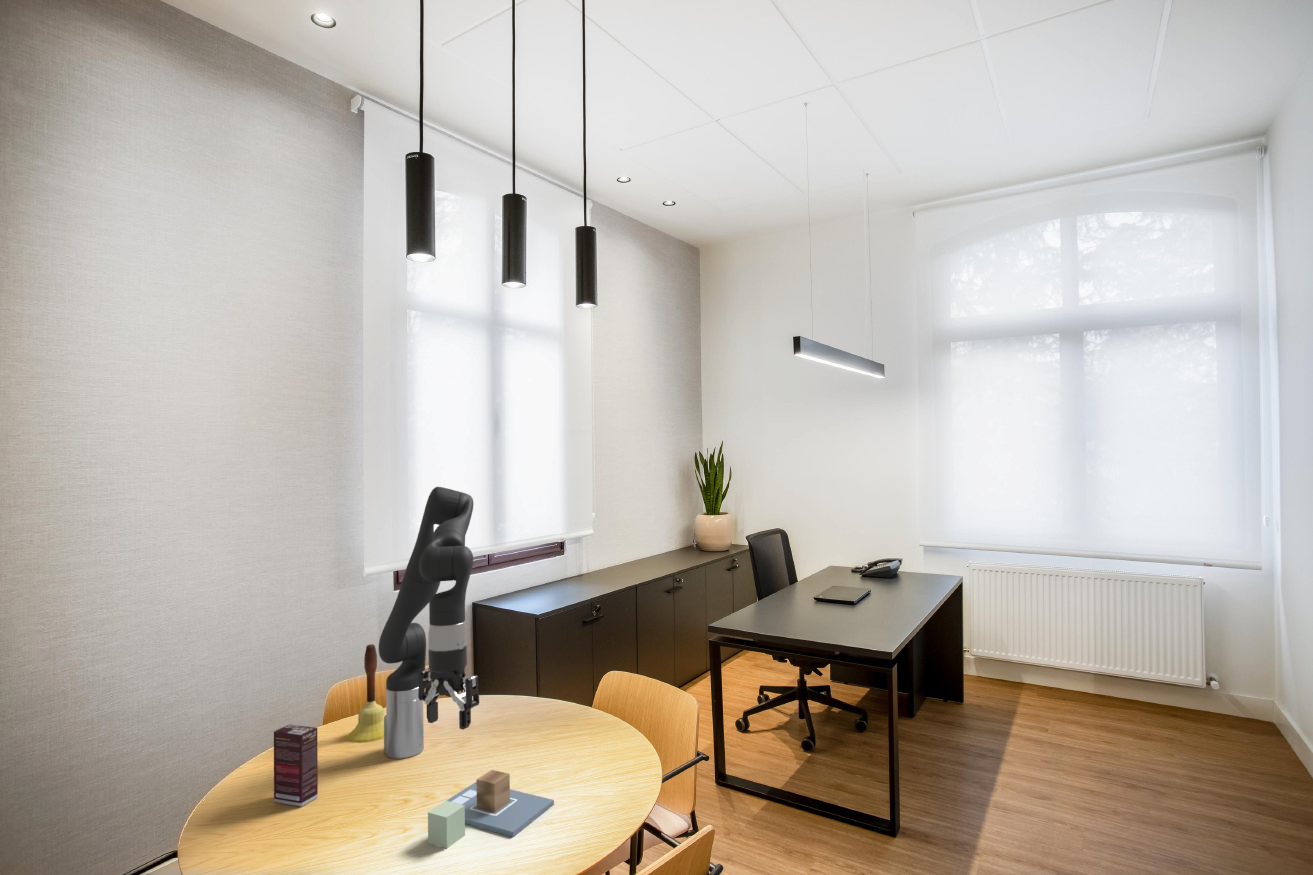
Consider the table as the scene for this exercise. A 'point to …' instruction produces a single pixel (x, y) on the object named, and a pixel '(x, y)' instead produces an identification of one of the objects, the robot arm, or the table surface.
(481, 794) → the walnut block
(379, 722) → the handbell
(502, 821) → the board
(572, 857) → the table surface
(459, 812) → the sage block
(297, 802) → the supplement box
